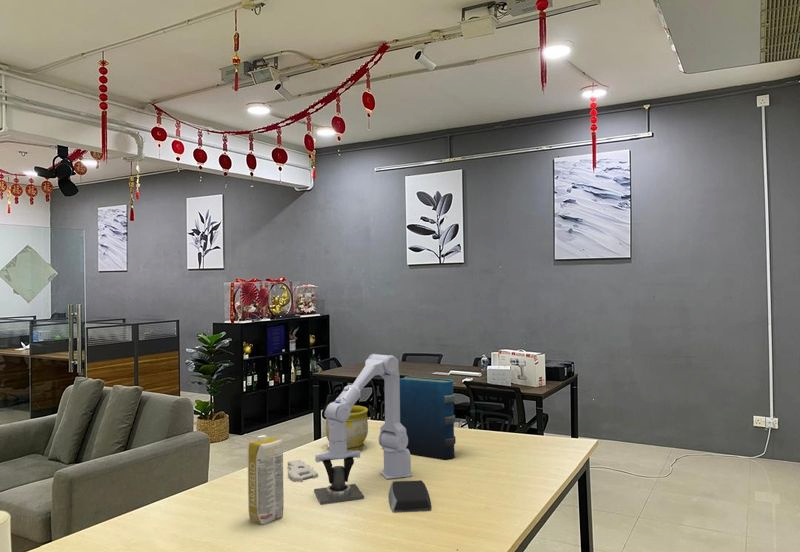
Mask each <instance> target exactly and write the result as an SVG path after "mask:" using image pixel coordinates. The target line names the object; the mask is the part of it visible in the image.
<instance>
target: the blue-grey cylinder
mask: <svg viewBox="0 0 800 552" xmlns="http://www.w3.org/2000/svg"><path fill="white" fill-rule="evenodd" d="M345 484H346V482H345V468H344V465H335V466H332V484H330V485H331V489H332V490H343V489H345Z"/></svg>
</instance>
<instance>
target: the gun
mask: <svg viewBox="0 0 800 552" xmlns="http://www.w3.org/2000/svg"><path fill="white" fill-rule="evenodd" d="M287 468H288V469H289V471H288V472H287V476H288V478H290V479H291V480H292V481H293V482H296V481H301V482H300V483H302V482H303V481H304V480H306V479H309V478H313V479H315V478H317V477H319V472H317V471H316V470H315V469H314V467H311V466H310V465H308V464H306V463H305V461H304V460H303V461H302V460H301V459H296V460H290V461H287Z"/></svg>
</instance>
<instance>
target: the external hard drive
mask: <svg viewBox="0 0 800 552" xmlns="http://www.w3.org/2000/svg"><path fill="white" fill-rule="evenodd" d="M388 504H389V507H390V510H391V512H392V513H393V514H394V513H396V514H397V513H412V512H414V513H418V512H419V511H420V512H431V511H432V502H431V497H430V494H429V491H428V488H427V486H426V484H425V482H424V481H423V480H422V479H421V480H400V481H399V480H398V481H397V480H395V481H392V482H391V484H390V487H389V491H388Z"/></svg>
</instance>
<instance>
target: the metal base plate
mask: <svg viewBox="0 0 800 552" xmlns="http://www.w3.org/2000/svg"><path fill="white" fill-rule="evenodd" d="M313 492H314V495H315V496H316V498H317V501H318V503H319V505H328V504H335V503H345V502H351V501H358V500H365V495H364V493H363V492H362V491H361V489H360V488H359V486H357V484H356V483H351V484H347V483H345V489H343V490H332V489H331V484H330V485H328V486H326V487H320V488H319V487H318V488H314V489H313Z"/></svg>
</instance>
